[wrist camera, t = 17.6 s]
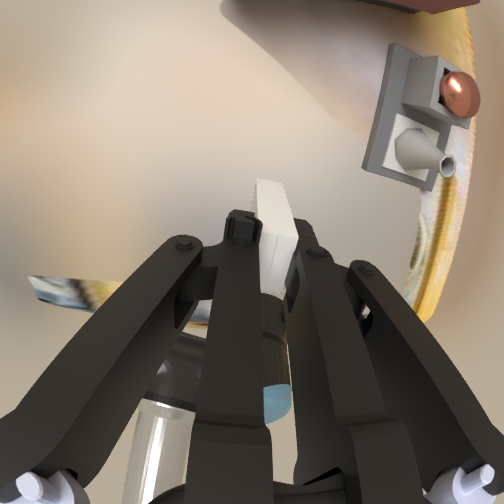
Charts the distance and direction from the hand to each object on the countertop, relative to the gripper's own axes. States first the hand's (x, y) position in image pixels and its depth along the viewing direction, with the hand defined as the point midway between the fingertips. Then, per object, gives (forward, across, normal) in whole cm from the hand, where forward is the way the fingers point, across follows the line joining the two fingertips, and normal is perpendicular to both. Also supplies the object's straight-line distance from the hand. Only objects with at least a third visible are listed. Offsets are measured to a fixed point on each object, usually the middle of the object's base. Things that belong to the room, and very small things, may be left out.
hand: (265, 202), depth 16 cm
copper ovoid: (+23, -24, -16) cm, 37 cm away
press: (+26, -24, -10) cm, 37 cm away
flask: (+24, -24, -5) cm, 34 cm away
